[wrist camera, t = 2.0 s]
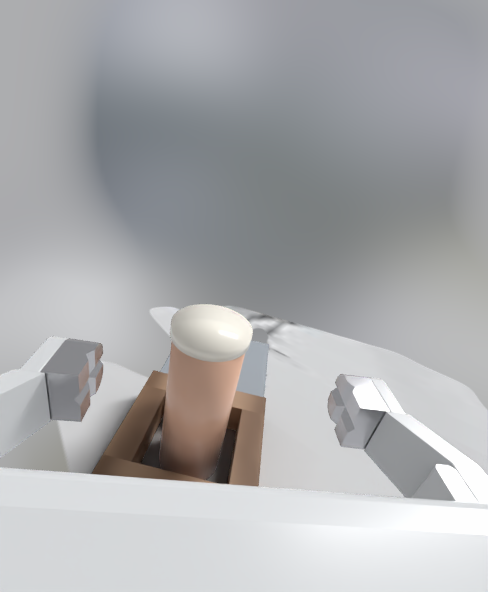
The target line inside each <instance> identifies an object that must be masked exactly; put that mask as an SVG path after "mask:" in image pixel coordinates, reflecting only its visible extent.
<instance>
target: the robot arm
mask: <svg viewBox="0 0 488 592" xmlns="http://www.w3.org/2000/svg"><path fill="white" fill-rule="evenodd" d="M102 354H103V346H102V344H101V343H96V342H90V341H83V340H76V339H70V338H69V339H67V338H61V337H54V336H52V337H49V338H47V339H46V341H45V342H44V343H43V344H42V345H41V346H40V347H39V348H38V350H37V351H36V352H35V353H34V354H33V355H32V356H31V357H30V358H29V359H28V361H27V362H26V363H25V364H24V365H23V366H22V367H21V368H20V370H15V369H13V370H11V371H8V372H6V373H4V374H1V375H0V458H1V457H3V456H4V455H5V454H7V453H8V452H9V451H11V450H12V449H13V448H15V447H16V446H18V445H19V444H20V443H22V442H23V441H24V440H26V439H27V438H28V437H30V436H31V435H33V434H34V433H35V432H37V431H38V430H39V429H41V428H42V427H43V426H45V425H46V424H48V423H49V422H50V421H51V420H64V421H79V422H81V421H82V419H83V417H84V415H85V413H86V411H87V409H88V408H89V406H90V397H91V396H92V395H94V394H96V392H97V390H98V388H99V386H100V383H101V379H102V374H103V364H102V362H101V361H100V358H101V356H102ZM335 383H336V386H337V388H336V389H334V390H333V391H331V393H330V396H329V398H328V413H329V415H330V418H331V419H332V420H333V421H334V422H335V423H336V424H337V425H336V427H335V429H334V430H335V432H336V435H337V438H338V440H339V443H340V446H341V447H349V448H357V449H365V450H364V451H365V452H366V453H367V454H368V456H369V457H370V458H371V459H372V460H373V461H374V462H375V463H376V465H377V466H378V467H379V468H380V469H381V470H382V471H383V473H384V474H385V475H386V476H387V477H388V478H389V479H390V480H391V482H392V483H393V484H394V485H395V486H396V487H397V488H398V489H399V491H400V492H401V493H402V494H403V495H404V496H405V497H406V498H405V497H392V496H378V495H365V494H352V493H338V492H325V491H311V490H298V489H285V488H271V487H258V486H244V485H231V484H217V483H204V482H190V481H177V480H164V479H150V478H137V477H124V476H110V475H97V474H83V473H70V472H56V471H43V470H29V469H15V468H2V467H0V592H488V476H487V475H486V474H485V472H484V471H483V470H482V469H481V467H480V466H478V465H477V464H476V463H474V462H473V461H472V460H470V459H469V458H468V457H466V456H465V455H463V454H462V453H461V452H459V451H458V450H457V449H455V448H454V447H453V446H451V445H450V444H449V443H447V442H446V441H445V440H443V439H442V438H441V437H439V436H438V435H437V434H435V433H434V432H432V431H431V430H430V429H428V428H427V427H426V426H424V425H423V424H422V423H420V422H419V421H418V420H416V419H415V418H414V417H412V416H411V415H410V414H405V413H404V411H403V410H402V408H401V407H400V405H399V403H398V402H397V400H396V399H395V397H394V396H393V394H392V393H391V391H390V389H389V388H388V386H387V385H386V383H385V382H384V381H383V380H382V379H381V378H372V377H360V376H352V375H344V374H340V375H339V376H338V377H337V379H336V382H335Z"/></svg>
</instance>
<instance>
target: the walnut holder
mask: <svg viewBox="0 0 488 592" xmlns="http://www.w3.org/2000/svg"><path fill="white" fill-rule="evenodd" d="M167 380H168V374H166V373H162V372H158V371H153V372H152V374H151V376H150V377H149V379H148V380H147V382H146V384H145V385H144V387H143V389H142V390H141V392H140V394H139V395H138V397H137V399H136V400H135V402H134V404H133V405H132V407H131V409H130V410H129V412H128V414H127V415H126V417H125V419H124V420H123V422H122V424H121V425H120V427H119V429H118V430H117V432H116V434H115V435H114V437H113V439H112V440H111V442H110V444H109V445H108V447H107V449H106V450H105V452H104V454H103V455H102V457H101V459H100V460H99V462H98V463H97V465H96V467H95V468H94V470H93V472H92V473H91V474H97V475H110V476H124V477H137V478H150V479H164V480H177V481H190V482H204V483H214V482H210V481H206V480H202V479H198V478H194V477H190V476H186V475H182V474H179V473H175V472H171V471H167V470H163V469H159V468H155V467H151V466H147V465H143V464H141V462H142V460H143V457H144V455H145V453H146V451H147V449H148V447H149V445H150V442H151V440H152V438H153V436H154V434H155V432H156V430H157V427H158V425H159V423H160V421H161V419H162V417H163V414H164V407H165V398H166V389H167ZM265 403H266V398H264V397H260V396H256V395H252V394H248V393H244V392H240V391H236V392H235V396H234V400H233V404H232V408H231V412H230V416H229V420H228V424H227V429H231V430H235V431H236V435H235V440H234V446H233V452H232V457H231V463H230V468H229V474H228V479H227V484H231V485H244V486H258V485H259V474H260V462H261V450H262V438H263V426H264V415H265ZM217 484H218V483H217Z"/></svg>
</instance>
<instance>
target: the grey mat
mask: <svg viewBox="0 0 488 592" xmlns="http://www.w3.org/2000/svg"><path fill="white" fill-rule="evenodd" d="M268 348H269V344H265V343H260V342H256V341H252V340H251V342H250V346H249V349H248V350H247V352H246V353H245V356H244V360H243V364H242V368H241V372H240V376H239V380H238V384H237V388H236V391H240V392H244V393H248V394H252V395H256V396H260V397H264V391H265V380H266V370H267V359H268ZM169 361H170V355H169V357H168V359H167V360H166V362H165V364H164V366H163V367H162V370H161V371H160V372H162V373H166V374H168V370H169Z"/></svg>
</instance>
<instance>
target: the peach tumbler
mask: <svg viewBox="0 0 488 592" xmlns="http://www.w3.org/2000/svg"><path fill="white" fill-rule="evenodd" d="M252 332H253V330H252V327H251V325H250V323H249V322H248V321H247V319H245V318H244V317H243V316H242V315H240V314H239V313H237V312H235V311H233V310H231V309H228V308H225V307H222V306H217V305H210V304H199V305H191V306H187V307H185V308H182V309H180V310H179V311H177V312H176V313H175V314H174V316H173V317H172V320H171V328H170V338H171V340H172V343H171V353H170V361H169V370H168V380H167V389H166V398H165V407H164V416H163V425H162V434H161V443H160V453H159V463H160V467H161V469H163V470H167V471H171V472H175V473H179V474H182V475H186V476H190V477H194V478H198V479H202V480H206V479H208V478H209V477H210V476H211V475H212V474H213V472H214V471H215V469H216V467H217V464H218V460H219V456H220V452H221V448H222V444H223V440H224V436H225V432H226V428H227V424H228V420H229V416H230V412H231V408H232V404H233V400H234V396H235V392H236V388H237V384H238V380H239V376H240V372H241V368H242V364H243V360H244V356H245V353H246V352H247V350H248V349H249V346H250V342H251V338H252V334H253V333H252Z"/></svg>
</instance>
